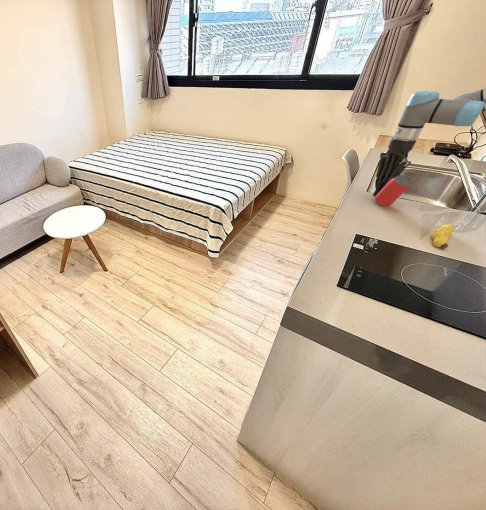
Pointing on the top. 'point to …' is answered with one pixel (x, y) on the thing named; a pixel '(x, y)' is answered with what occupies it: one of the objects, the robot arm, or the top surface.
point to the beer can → (392, 190)
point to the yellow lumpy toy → (442, 235)
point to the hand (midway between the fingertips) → (377, 195)
